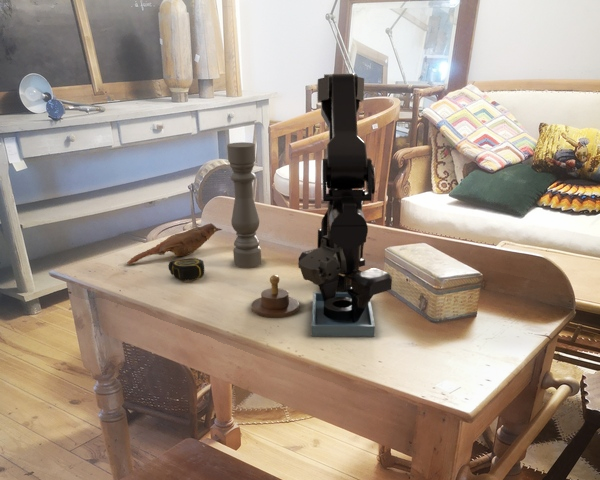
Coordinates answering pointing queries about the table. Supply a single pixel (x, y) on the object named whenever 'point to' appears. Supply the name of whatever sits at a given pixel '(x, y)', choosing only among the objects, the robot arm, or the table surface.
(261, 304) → the wooden peg stand
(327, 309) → the ring
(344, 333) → the tray
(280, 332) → the table surface
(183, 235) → the bird sculpture
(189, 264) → the tape measure
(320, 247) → the robot arm
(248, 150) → the candle holder
